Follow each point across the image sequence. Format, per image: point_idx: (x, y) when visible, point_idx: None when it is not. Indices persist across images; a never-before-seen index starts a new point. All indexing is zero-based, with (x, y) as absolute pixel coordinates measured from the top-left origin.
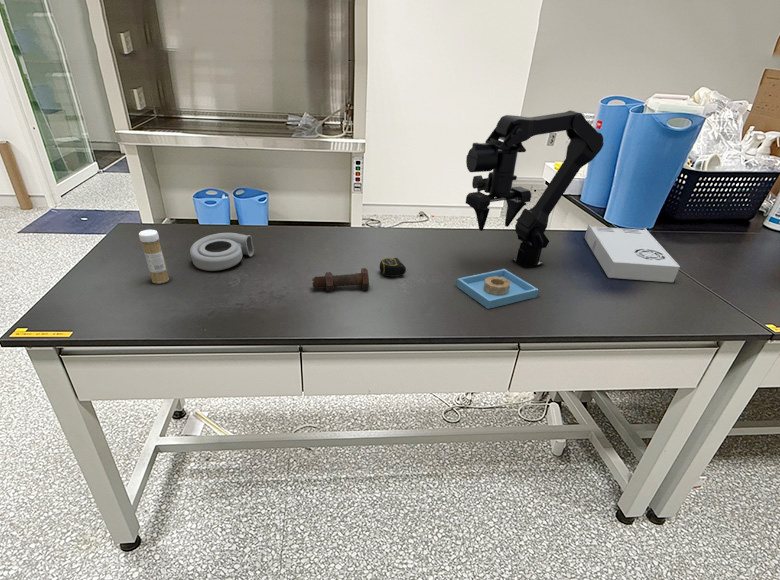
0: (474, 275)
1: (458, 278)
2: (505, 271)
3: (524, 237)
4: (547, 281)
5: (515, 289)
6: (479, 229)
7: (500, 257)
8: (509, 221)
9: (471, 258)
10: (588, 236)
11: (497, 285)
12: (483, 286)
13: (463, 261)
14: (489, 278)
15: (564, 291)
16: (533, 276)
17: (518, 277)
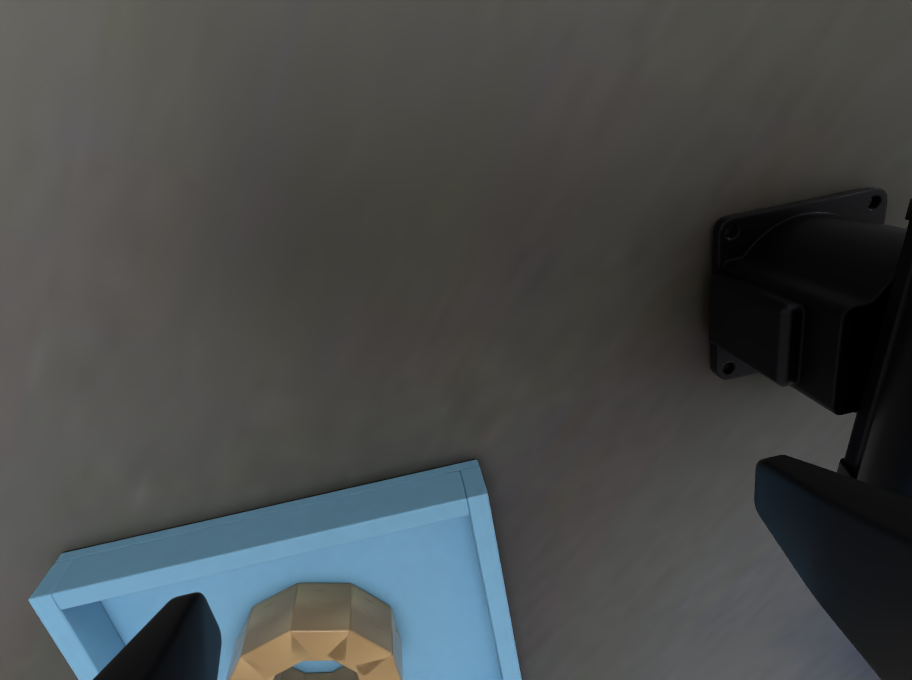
0: (193, 567)
1: (38, 598)
2: (472, 527)
3: (865, 475)
4: (704, 552)
5: (444, 645)
6: (173, 608)
7: (660, 118)
8: (830, 615)
9: (376, 67)
10: None
11: None
12: (254, 599)
13: (265, 122)
14: (277, 653)
15: (702, 654)
16: (673, 485)
17: (508, 616)
